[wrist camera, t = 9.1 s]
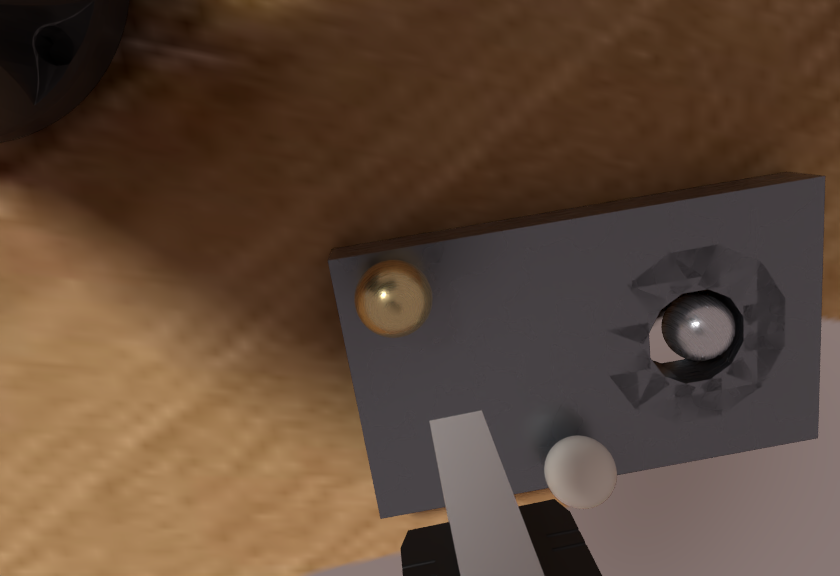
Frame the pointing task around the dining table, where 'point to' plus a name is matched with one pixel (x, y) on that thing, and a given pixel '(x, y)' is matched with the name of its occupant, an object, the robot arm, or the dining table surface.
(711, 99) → the dining table surface
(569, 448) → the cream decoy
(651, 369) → the plate
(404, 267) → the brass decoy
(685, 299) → the steel ball
